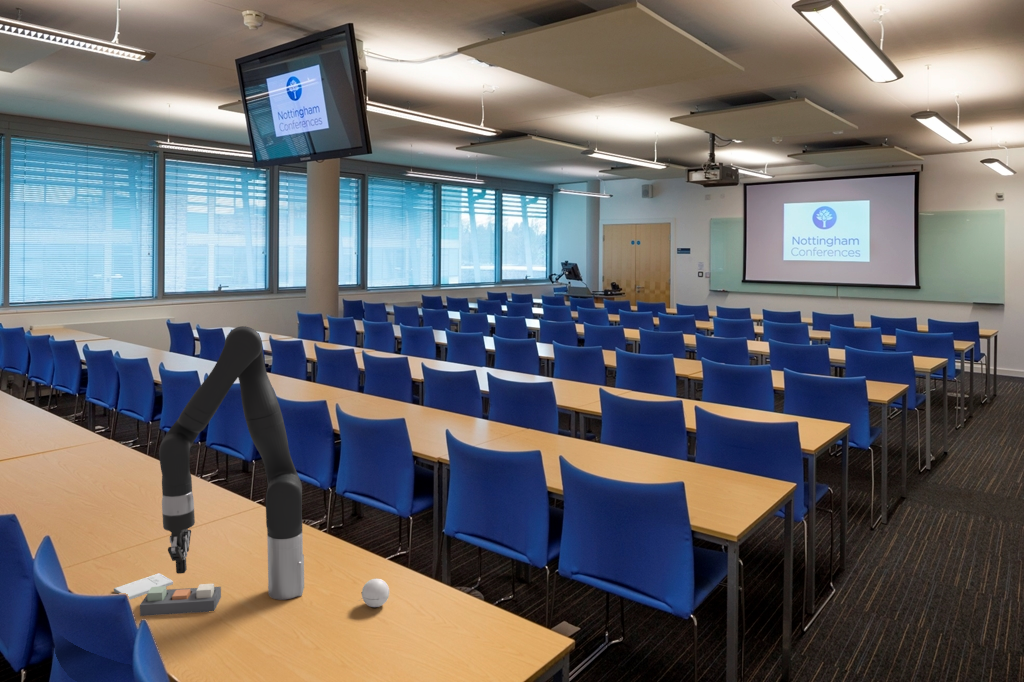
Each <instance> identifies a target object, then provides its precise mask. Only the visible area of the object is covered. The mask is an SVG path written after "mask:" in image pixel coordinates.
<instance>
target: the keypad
mask: <svg viewBox="0 0 1024 682" xmlns="http://www.w3.org/2000/svg"><path fill="white" fill-rule="evenodd" d="M197 588H198V587H191V588H190V587H189V588H185V589H190V591H191V595H190V596H189V598H188V599H180V600H172V596H173V594H174V592H175V591H176V590H182V589H183V588H172V589H170V588H169V589H166V591H167V596H166V597H165V599H164V600H163V601H148V598H147V595H145V597H144V598H143V599H142V601H141V602H140V604H139V616H140V617H147V616H163V615H177V614H178V615H181V614H194V613H195V614H196V613H197V614H199V613H210V612H209V611H214V610H215V611H216V609H217V606H218V604H219V602H220V601H221V598H222V586H214V595H213V597H212V598H196V590H197ZM215 611H214V612H215Z"/></svg>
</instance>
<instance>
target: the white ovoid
mask: <svg viewBox="0 0 1024 682" xmlns="http://www.w3.org/2000/svg"><path fill="white" fill-rule="evenodd" d="M389 597H390V587H389V585H388V584H387V582H386V581H385V580H383V579H381V578H372V579H369V580H368V581H367V582H366V583H365V584H364V585H363V587H362V590H361V598H360V599H359V601H361V600H362V601H363V602H364V604H365V605H367V606H368V607H370V608H379V607H381V606H383V605H384V604H386V603H387V601H388V599H389Z"/></svg>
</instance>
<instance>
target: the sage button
mask: <svg viewBox="0 0 1024 682" xmlns="http://www.w3.org/2000/svg"><path fill="white" fill-rule="evenodd" d="M166 590H167V587H166V586H161V587H151V589H150V590H149V592H148V593H147V594H146V596H147V598H148V601H163V600H164V599H165V597H166V596H167V591H166Z"/></svg>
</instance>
